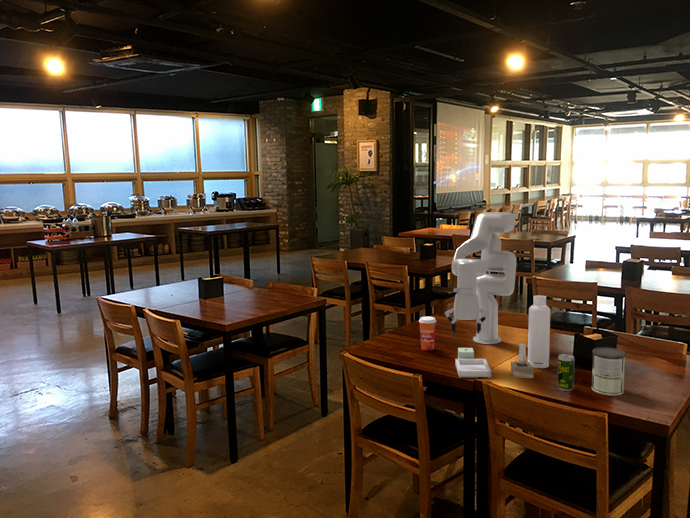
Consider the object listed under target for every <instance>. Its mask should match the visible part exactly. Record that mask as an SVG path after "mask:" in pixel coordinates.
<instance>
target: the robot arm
mask: <svg viewBox="0 0 690 518" xmlns="http://www.w3.org/2000/svg"><path fill="white" fill-rule="evenodd" d="M515 226H516V216H515V214H514V213H513V212H508V211H507V212H504V211H502V212H501V211H497V212H496V211H495V212H494V211H493V212H492V211H488V212H487V211H486V212H481V213H479V214H478V215H477V216H476V218H475V220H474V223H473V226H472V227H473V228H472V230H471V235H470V238H469V239H468V240H466V241H464V242H463V243H462V244H461V245H460V246H458V247H457V249H456V250H455V253H454V255H453V258H452V263H451V273H452V274H453V275H454V276H457V277H456V278H457V280H456V281H457V283H456V287H455V288H453V293H456V294H455V295H454V300H453V301H454V302H453V308H451V309H449V310H446V311H445V312H444V315H445V316H446V319H447V320H448V321H449V322H450V323H451V331H452V333H453V334H456V327H457V324H456V322H457V321H458V320H459V321H462V320H463V321H476V335H475V336H473V337H472V341H474V343H478V344H483V345H495V344H496V345H497V344H499V343H501V342H502V338H501V337H499V336H498V334H499V333H498V332H499V331H498V328H499V327H498V326H499V325H498V324H499V323H498V322H499V319H498V317H499V315H498V314H499V304H498V301H497V298H495V296H503V297H505V296H506V297H508V296H511V295H512V294H513V293H514V292H515V284H516V283H515V282H516V271H517V257H516V255H515V253H514V252H512V251H507V250H506V251H502V250H501V249H502V240H501V238H500V236H499V235H498V233H499V234H500V233H501V234H502V233H503V234H504V233H509V232H511V231H513V229H514V228H515ZM480 251H481V254H480V258H479V259H478V258H467V256H470V255H472V254H475V253H478V252H480ZM487 272H493V273H487ZM494 272H495V273H494ZM496 272H497V274H496ZM499 273H504V274H499ZM452 313H453V317H451V316H450V314H452Z"/></svg>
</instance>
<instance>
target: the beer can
mask: <svg viewBox="0 0 690 518" xmlns="http://www.w3.org/2000/svg"><path fill="white" fill-rule="evenodd" d="M556 381H557V382H556V383H557V384H556V385H557V388H558V390H559V391H564V392H571V391H573V390H574V384H575V383H574V381H575V356H574V355H572V354H569V353H568V354H567V353H561V354H558V357H557V379H556Z"/></svg>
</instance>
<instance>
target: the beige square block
mask: <svg viewBox="0 0 690 518" xmlns="http://www.w3.org/2000/svg"><path fill="white" fill-rule="evenodd" d="M534 371H535V367H533V366H532V365H531V363H530V362H528V361H525V366H519V361H510V373H511V375H512V376H513V378H514V379H534V375H535V374H534V373H535V372H534Z"/></svg>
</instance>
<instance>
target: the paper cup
mask: <svg viewBox="0 0 690 518" xmlns="http://www.w3.org/2000/svg"><path fill="white" fill-rule="evenodd" d="M418 322H419V334H420V346H421V347H420V348H421V350H422V351H427V352H428V350H430V351H434V350H435V341H436V340H435V337H436V323H437V320H436V318H435V317H434V316H421V317H420V318H419V320H418Z"/></svg>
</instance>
